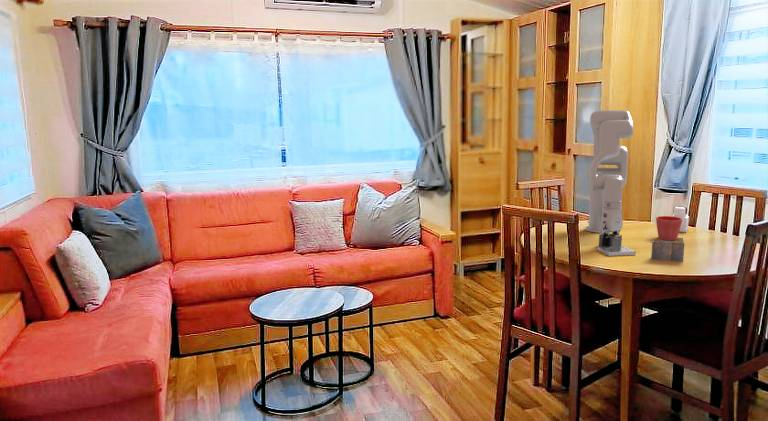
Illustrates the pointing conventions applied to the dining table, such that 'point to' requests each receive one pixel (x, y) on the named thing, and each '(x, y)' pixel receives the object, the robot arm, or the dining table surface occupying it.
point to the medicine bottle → (681, 213)
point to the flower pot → (668, 227)
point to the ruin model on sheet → (668, 250)
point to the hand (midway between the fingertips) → (610, 244)
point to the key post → (616, 249)
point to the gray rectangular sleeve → (610, 239)
